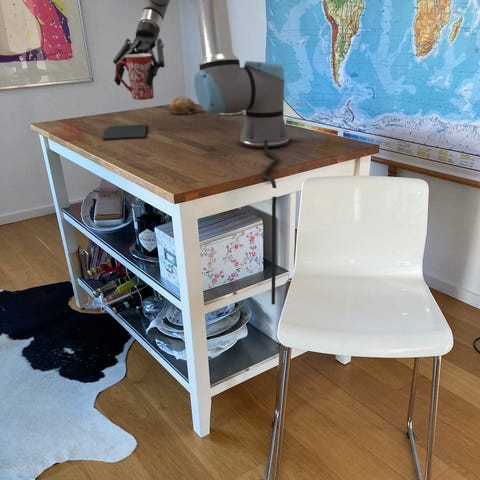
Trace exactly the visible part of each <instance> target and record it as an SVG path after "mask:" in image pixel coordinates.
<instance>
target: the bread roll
mask: <svg viewBox="0 0 480 480" xmlns="http://www.w3.org/2000/svg"><path fill="white" fill-rule="evenodd" d="M169 109H170V112H171V114H172V115H191V114H193V113H195V112H196V111H197V110H196V104H195V102H194V101H193V100H192V99H191V98H190V97H187V96H183V95H181V96H178V97H176V98H175V99H173V100H172V102H171V103H170V105H169Z"/></svg>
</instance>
